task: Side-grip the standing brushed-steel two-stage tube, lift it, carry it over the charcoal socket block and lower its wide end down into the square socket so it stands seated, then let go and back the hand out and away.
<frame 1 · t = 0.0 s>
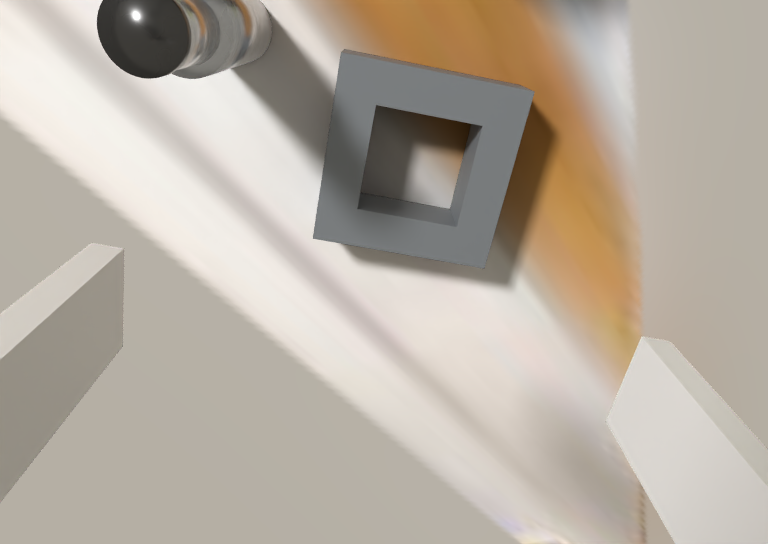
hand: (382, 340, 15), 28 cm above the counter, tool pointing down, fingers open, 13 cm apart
socket block: (414, 155, 41), on the counter
tube: (238, 27, 37), on the counter
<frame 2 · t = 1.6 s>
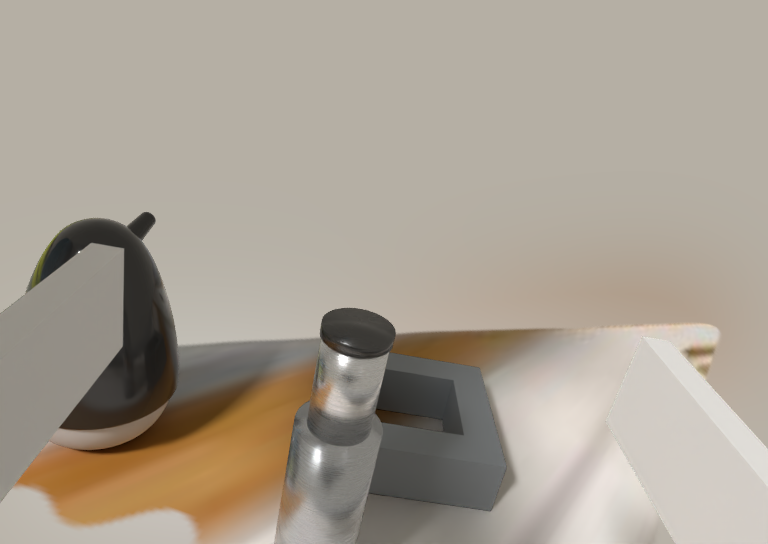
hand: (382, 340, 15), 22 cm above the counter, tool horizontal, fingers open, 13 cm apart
dark grey egg shape: (100, 423, 41), on the counter
socket block: (403, 440, 45), on the counter
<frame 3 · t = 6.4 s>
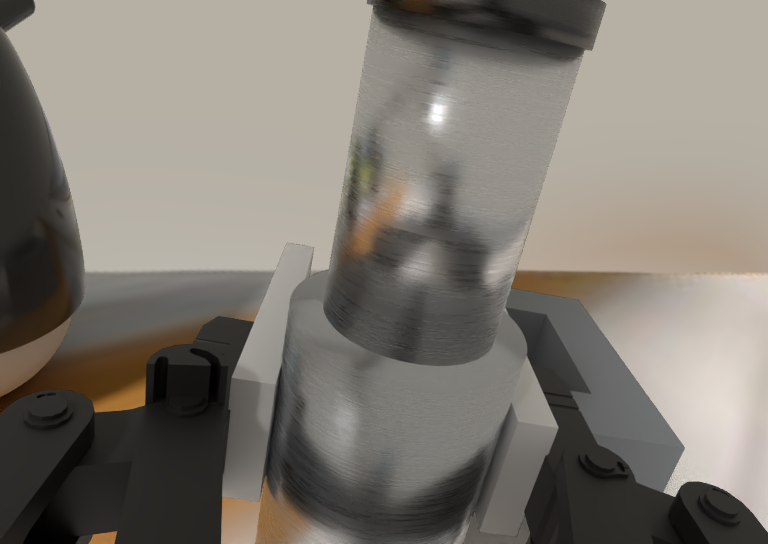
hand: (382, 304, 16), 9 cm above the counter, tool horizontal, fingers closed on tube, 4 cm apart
socket block: (471, 409, 27), on the counter
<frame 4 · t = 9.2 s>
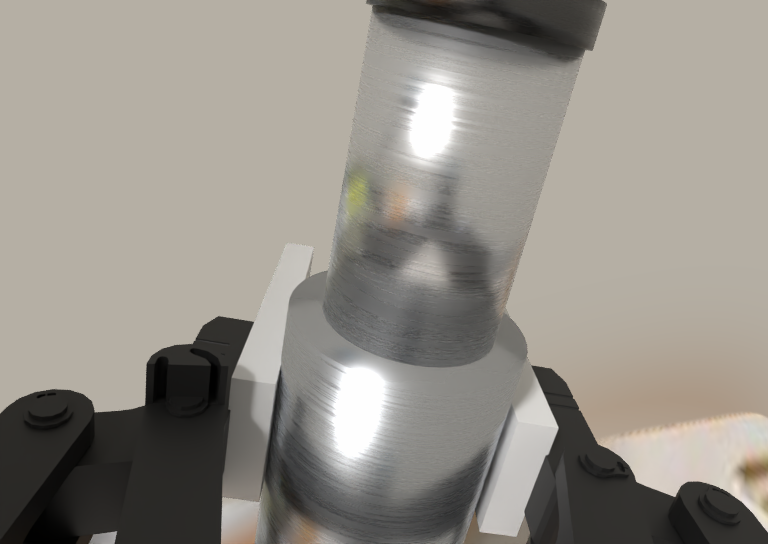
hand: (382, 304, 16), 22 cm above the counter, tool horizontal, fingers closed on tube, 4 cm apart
when the fingers open (10 cm above the counter, at t = 12.1 s): tube drops 1 cm, resting in socket block.
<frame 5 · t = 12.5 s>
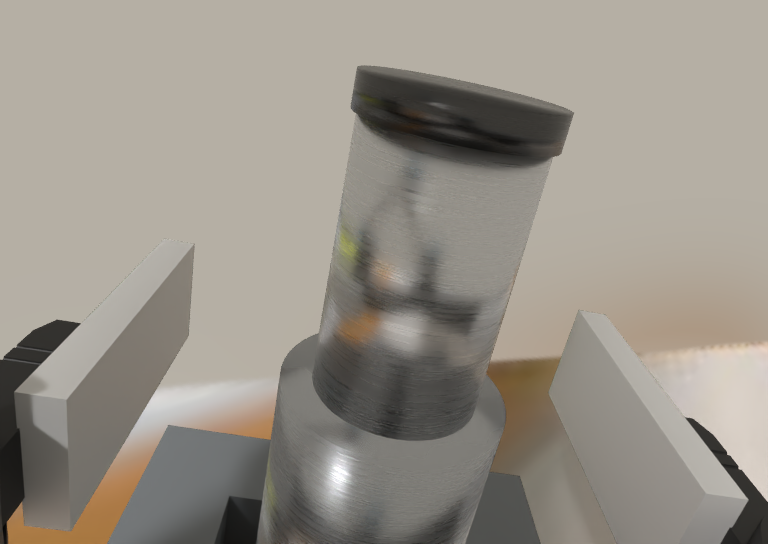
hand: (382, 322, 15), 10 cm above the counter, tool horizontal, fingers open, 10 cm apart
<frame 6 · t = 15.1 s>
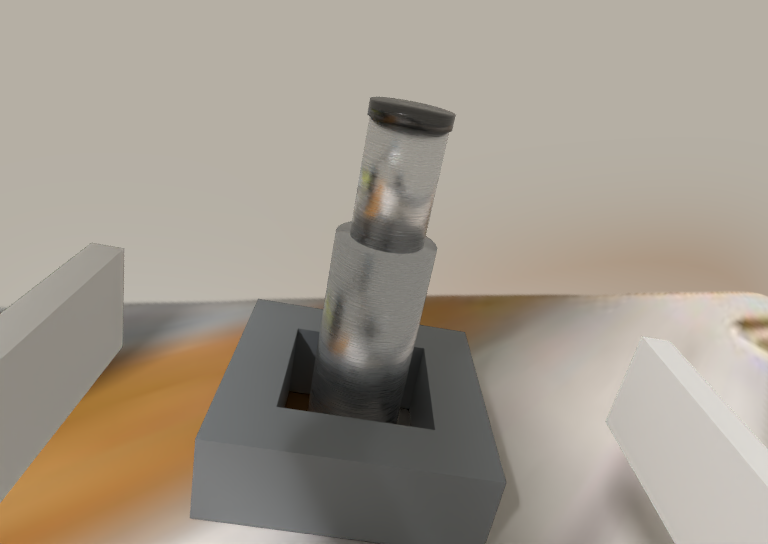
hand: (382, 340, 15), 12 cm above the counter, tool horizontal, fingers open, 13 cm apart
socket block: (346, 440, 29), on the counter
tube: (346, 441, 29), resting in socket block
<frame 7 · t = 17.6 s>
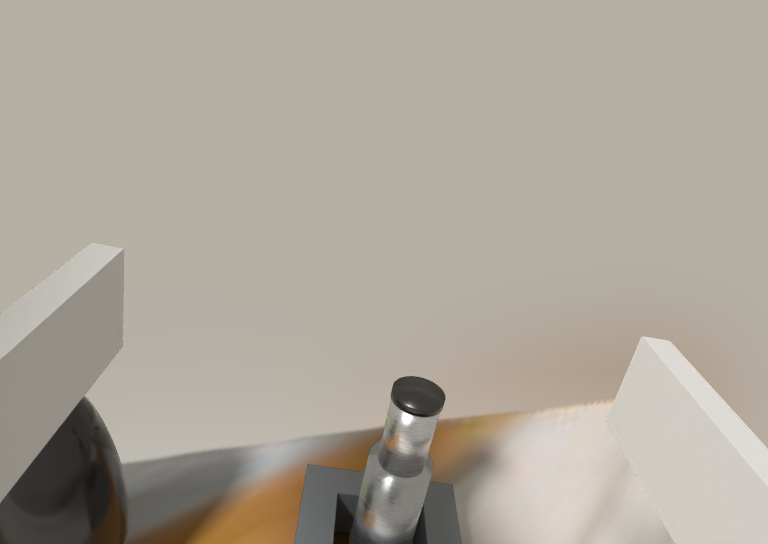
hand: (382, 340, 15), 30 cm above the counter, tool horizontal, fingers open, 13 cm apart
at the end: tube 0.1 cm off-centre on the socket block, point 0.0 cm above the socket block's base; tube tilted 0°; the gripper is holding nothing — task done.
